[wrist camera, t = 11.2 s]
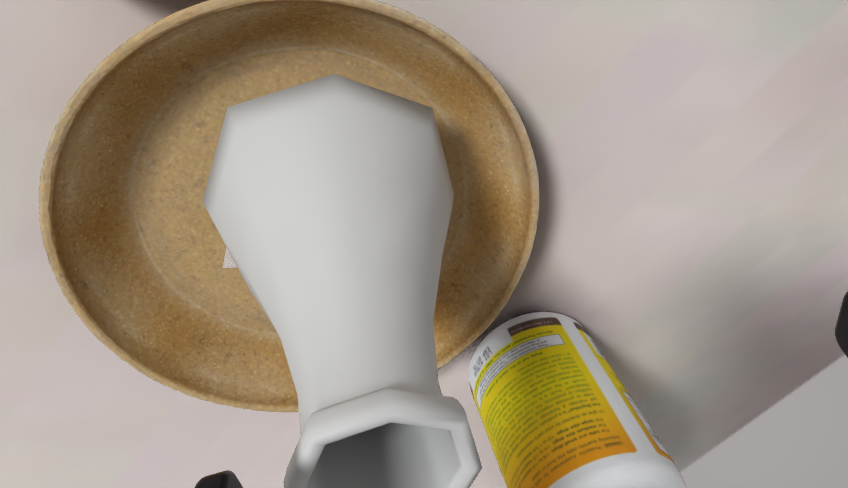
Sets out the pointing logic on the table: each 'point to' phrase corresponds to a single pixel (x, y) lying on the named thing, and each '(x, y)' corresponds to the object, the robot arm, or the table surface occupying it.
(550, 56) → the table surface
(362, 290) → the flask
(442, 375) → the table surface
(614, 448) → the supplement bottle
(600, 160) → the table surface
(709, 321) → the table surface
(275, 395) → the plant saucer
